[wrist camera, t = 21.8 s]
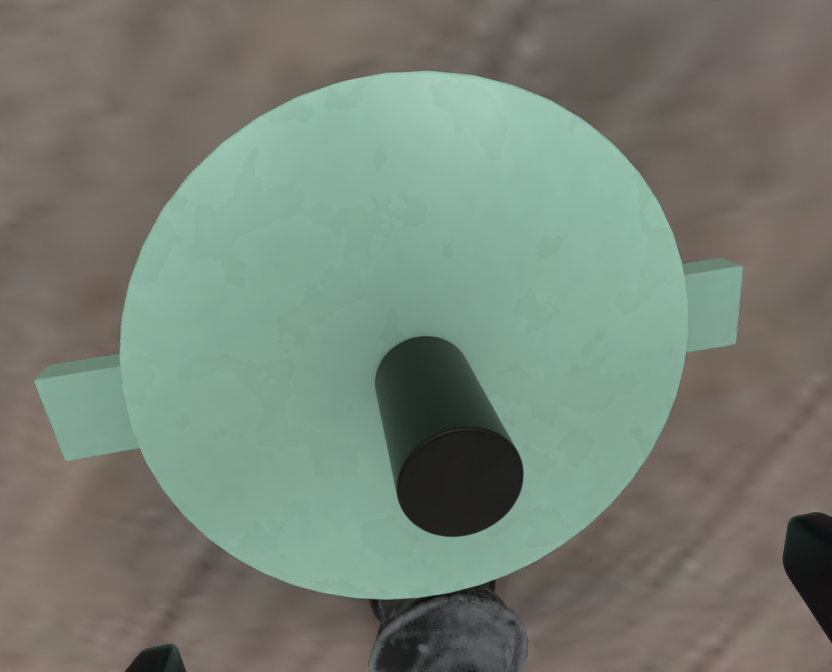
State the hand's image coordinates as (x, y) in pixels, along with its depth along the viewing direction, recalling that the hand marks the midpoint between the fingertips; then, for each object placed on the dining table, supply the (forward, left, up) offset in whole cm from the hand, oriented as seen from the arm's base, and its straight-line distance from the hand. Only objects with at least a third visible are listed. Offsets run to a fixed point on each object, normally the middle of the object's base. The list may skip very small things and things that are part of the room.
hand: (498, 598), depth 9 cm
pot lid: (0, 0, -8) cm, 8 cm away
